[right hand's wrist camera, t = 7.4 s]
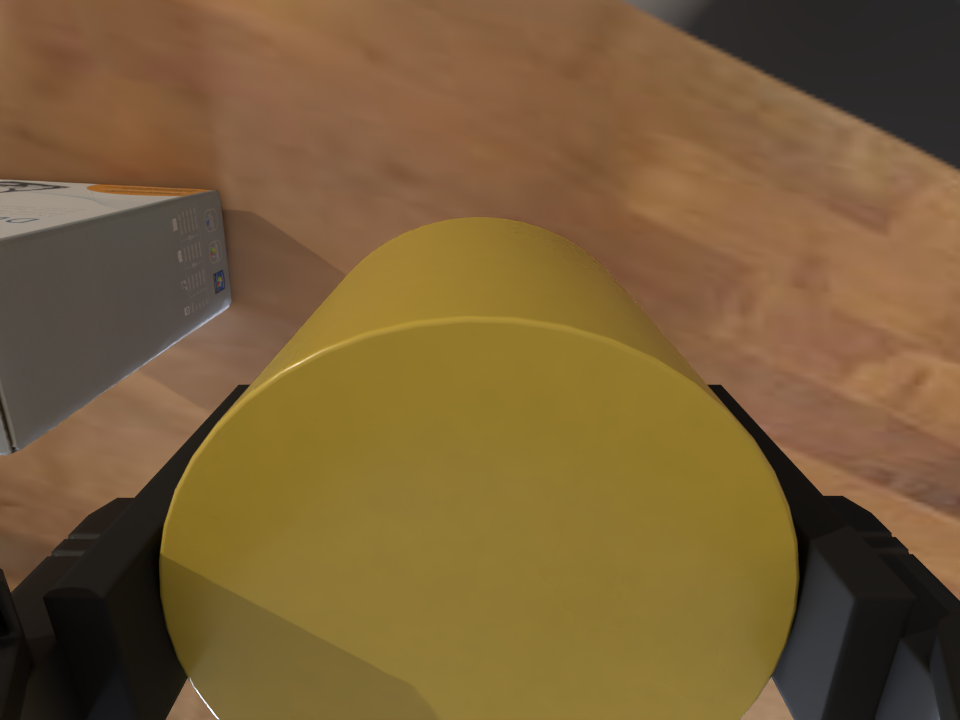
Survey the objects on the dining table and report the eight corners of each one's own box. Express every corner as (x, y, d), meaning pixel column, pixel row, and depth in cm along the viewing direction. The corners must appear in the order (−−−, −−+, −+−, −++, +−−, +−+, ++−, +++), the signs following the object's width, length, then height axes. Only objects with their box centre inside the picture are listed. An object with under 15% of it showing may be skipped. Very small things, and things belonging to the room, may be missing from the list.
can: (692, 460, 17) (864, 733, 10) (405, 568, 19) (353, 884, 11) (575, 152, 14) (688, 185, 7) (244, 307, 16) (16, 486, 8)
